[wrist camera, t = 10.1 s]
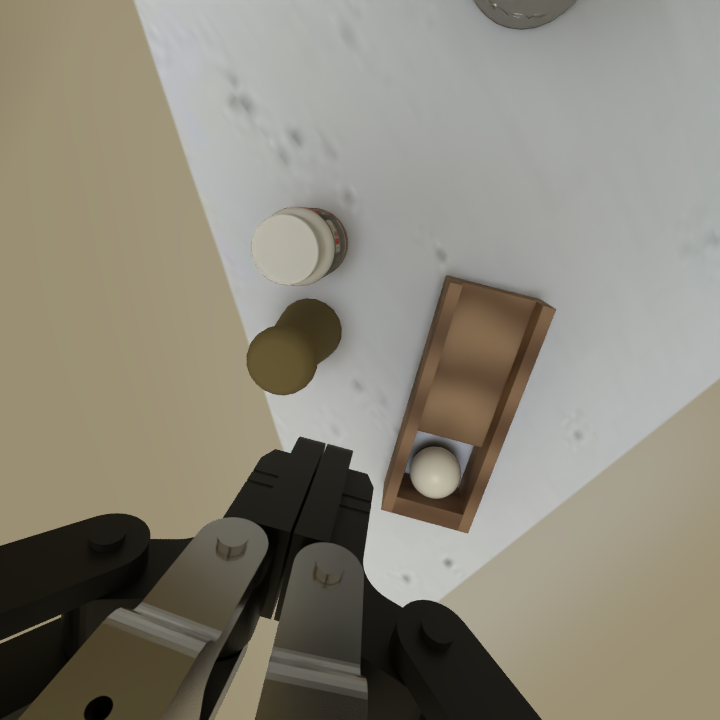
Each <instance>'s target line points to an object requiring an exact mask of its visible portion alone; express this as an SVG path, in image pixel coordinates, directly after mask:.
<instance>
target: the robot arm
mask: <svg viewBox="0 0 720 720" xmlns="http://www.w3.org/2000/svg"><path fill="white" fill-rule="evenodd" d="M576 1H577V0H475V2H476V4H477V5H478V6H479V8H480V9H481V10H482V11H483V12H484V13H485V15H486V16H488V17H489V18H491V19H492V20H494V21H495V22H496V23H499V24H501V25H504V26H507V27H510V28H520V29H525V28H532V27H537V26H540V25H543V24H545V23H548V22H550V21H552V20H554V19H555V18H557V17H558V16H560V15H561V14H563V13H564V12H565V11H566V10H567V9H569V8H570V7H571V6H572V5H573V4H574V3H575V2H576ZM325 445H326V444H325V443H322V442H319V441H315V440H311V439H307V438H304V437H299V438H298V440H297V442H296V444H295V446H294V448H293V450H292V452H291V453H288V452H284V451H280V450H276V449H275V450H273V451H272V452H270V453H268V454H266V455H265V456H263V457H261V459H260V460H259V462H258V463H257V465H256V467H255V468H254V471H253V472H252V473H251V475H250V476H249V478H248V479H247V482H245V484H244V486H243V487H242V489H241V491H240V492H239V493H238V495H237V497H236V498H235V500H234V501H233V503H232V505H231V506H230V508H229V509H228V511H227V512H226V514H225V515H224V517H223V518H222V519H218V520H215V521H212V522H210V523H209V524H207V525H206V526H204V527H203V528H202V529H201V530H200V531H199V532H198V534H197V535H196V536H195V537H193V538H188V539H150V530H149V528H148V526H147V525H146V523H145V522H143V521H142V520H141V519H139V518H137V517H135V516H132V515H127V514H118V513H117V514H105V515H100V516H96V517H93V518H89V519H86V520H83V521H80V522H76V523H73V524H70V525H67V526H63V527H60V528H57V529H54V530H51V531H47V532H44V533H41V534H38V535H34V536H31V537H28V538H24V539H21V540H18V541H15V542H12V543H8V544H5V545H2V546H0V640H3V639H5V638H7V637H10V636H12V635H14V634H17V633H19V632H21V631H24V630H26V629H28V628H30V627H33V626H35V625H38V624H40V623H42V622H44V621H47V620H49V619H51V618H54V617H56V616H58V615H61V618H59V619H56V620H54V621H52V622H49V623H47V624H45V625H42V626H40V627H38V628H36V629H33V630H31V631H29V632H27V633H24V634H22V635H20V636H17V637H15V638H13V639H10V640H8V641H6V642H4V643H1V644H0V720H214V719H215V717H216V715H217V713H218V710H219V708H220V706H221V704H222V702H223V700H224V698H225V696H226V693H227V692H228V689H229V687H230V685H231V683H232V681H233V679H234V677H235V675H236V672H237V670H238V668H239V666H240V664H241V662H242V660H243V657H244V655H245V653H246V650H247V646H248V642H249V641H250V639H251V637H252V635H253V633H254V630H255V628H256V625H257V622H258V620H259V617H260V616H261V617H265V618H269V619H271V617H272V614H273V612H274V609H275V606H276V603H277V600H278V598H279V600H278V604H277V609H276V613H275V618H274V620H277V621H279V624H278V628H277V633H276V636H275V641H274V645H273V649H272V653H271V657H270V660H269V664H268V668H267V672H266V676H265V680H264V684H263V689H262V693H261V697H260V701H259V705H258V709H257V713H256V717H255V720H541V718H540V717H539V716H538V714H537V713H536V712H535V711H534V709H533V708H532V707H531V706H530V704H529V703H528V702H527V701H526V699H525V698H524V697H523V696H522V694H521V693H520V692H519V691H518V689H517V688H516V687H515V686H514V684H513V683H512V682H511V681H510V679H509V678H508V677H507V676H506V674H505V673H504V672H503V671H502V669H501V668H500V667H499V666H498V664H497V663H496V662H495V661H494V659H493V658H492V657H491V656H490V654H489V653H488V652H487V651H486V649H485V648H484V647H483V646H482V644H481V643H480V642H479V641H478V639H477V638H476V637H475V636H474V634H473V633H472V632H471V631H470V629H469V628H468V627H467V626H466V624H465V623H464V622H463V621H462V620H461V619H460V618H459V617H458V615H456V614H455V613H454V612H453V611H452V610H450V609H449V608H447V607H445V606H443V605H442V604H439V603H437V602H433V601H429V600H417V601H413V602H410V603H409V604H407V605H406V606H404V607H403V608H402V607H400V606H399V605H397V604H395V603H394V602H392V601H391V600H389V599H387V598H386V597H384V596H383V595H382V594H380V593H379V592H378V591H377V590H376V589H375V588H374V587H373V586H372V584H371V583H370V582H369V580H368V578H367V576H366V574H365V571H364V567H363V557H364V550H365V543H366V536H367V529H368V522H369V514H370V509H371V502H372V495H373V485H372V483H371V481H370V479H369V476H368V474H365V473H362V472H358V471H354V470H351V469H349V465H350V461H351V457H352V454H353V451H352V450H349V449H345V448H341V447H337V446H334V445H330V444H327V447H326V449H325ZM324 450H325V452H324Z"/></svg>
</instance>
